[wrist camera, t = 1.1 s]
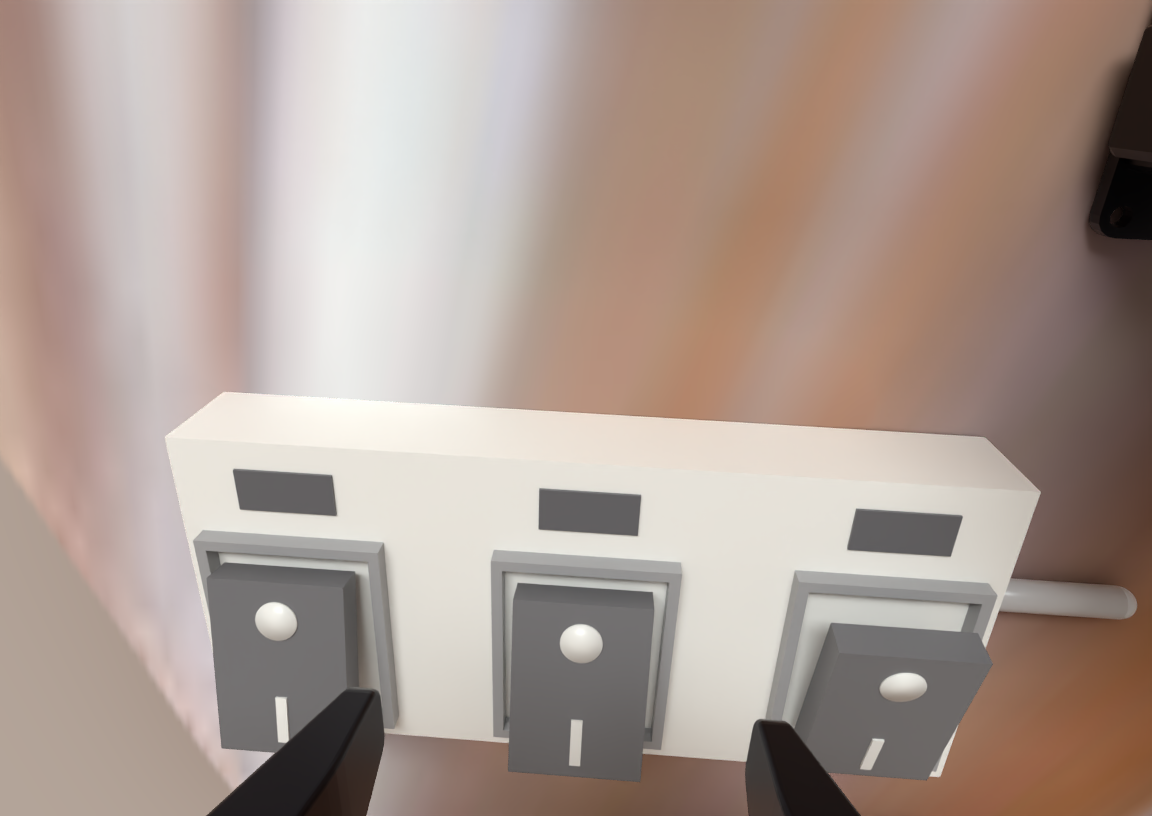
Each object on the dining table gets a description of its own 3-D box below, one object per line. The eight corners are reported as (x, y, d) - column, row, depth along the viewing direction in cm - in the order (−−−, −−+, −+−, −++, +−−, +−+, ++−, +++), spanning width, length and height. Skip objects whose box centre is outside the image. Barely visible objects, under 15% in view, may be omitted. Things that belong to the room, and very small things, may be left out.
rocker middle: (652, 592, 19) (654, 610, 18) (638, 757, 20) (640, 783, 19) (517, 582, 19) (512, 600, 18) (512, 748, 20) (507, 773, 19)
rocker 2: (977, 632, 18) (994, 666, 17) (916, 749, 21) (927, 782, 20) (830, 622, 18) (840, 655, 17) (790, 739, 21) (796, 772, 20)
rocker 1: (355, 571, 19) (342, 588, 18) (360, 736, 21) (348, 760, 20) (224, 562, 19) (205, 579, 19) (238, 726, 21) (220, 749, 20)
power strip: (1185, 448, 20) (1292, 517, 17) (1070, 711, 24) (1138, 807, 21) (223, 391, 21) (152, 446, 18) (271, 652, 25) (220, 734, 22)
